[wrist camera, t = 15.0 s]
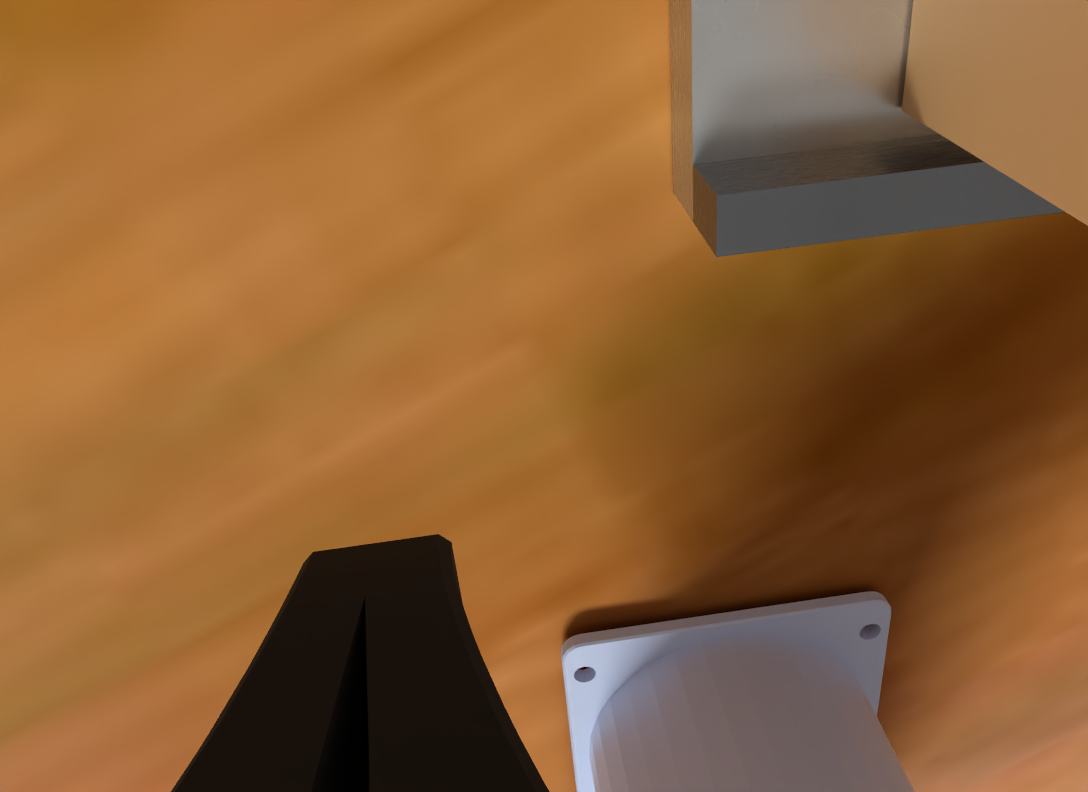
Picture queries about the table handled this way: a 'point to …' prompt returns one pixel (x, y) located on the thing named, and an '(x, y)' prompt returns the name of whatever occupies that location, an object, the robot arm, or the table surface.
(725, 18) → the frame
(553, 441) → the table surface
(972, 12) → the tan cardboard box
